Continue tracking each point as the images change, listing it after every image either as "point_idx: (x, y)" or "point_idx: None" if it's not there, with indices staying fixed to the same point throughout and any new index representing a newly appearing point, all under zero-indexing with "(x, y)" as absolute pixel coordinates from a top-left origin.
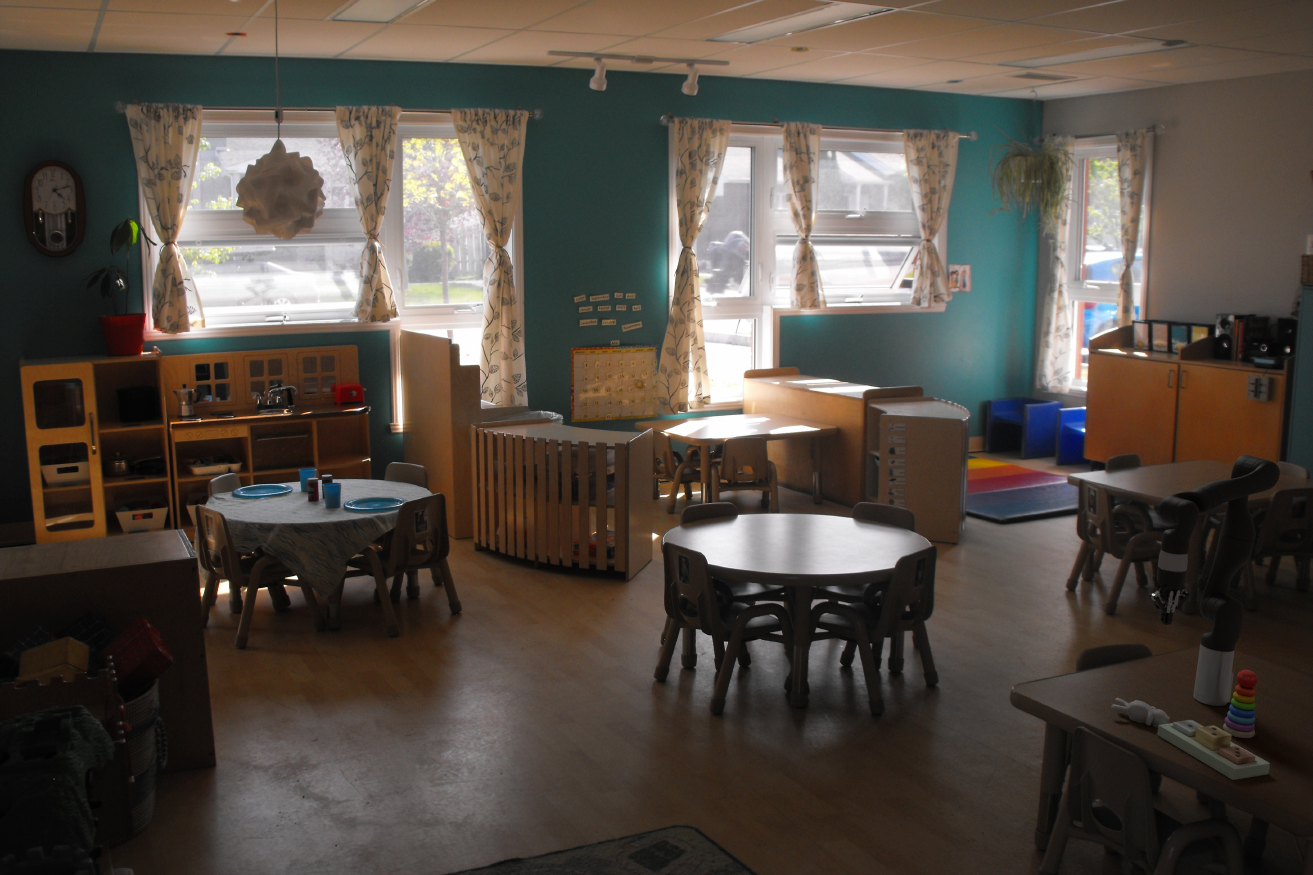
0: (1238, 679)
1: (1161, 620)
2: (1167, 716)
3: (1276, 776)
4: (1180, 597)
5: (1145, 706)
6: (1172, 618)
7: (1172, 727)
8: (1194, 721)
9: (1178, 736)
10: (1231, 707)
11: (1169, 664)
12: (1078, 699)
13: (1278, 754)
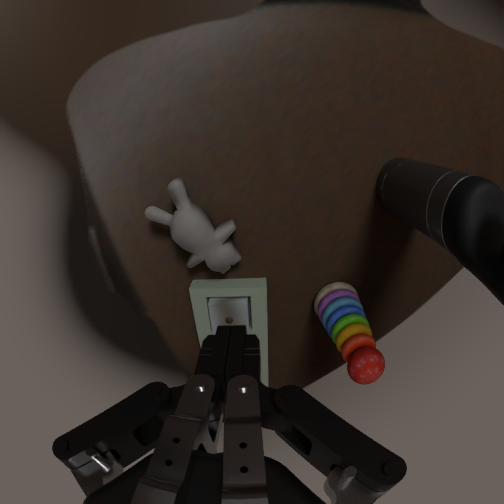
0: (349, 363)
1: (204, 343)
2: (237, 257)
3: (272, 386)
4: (330, 467)
5: (196, 244)
6: (260, 368)
7: (209, 299)
8: (266, 291)
9: (196, 325)
10: (330, 322)
11: (436, 49)
12: (139, 126)
13: (327, 353)
